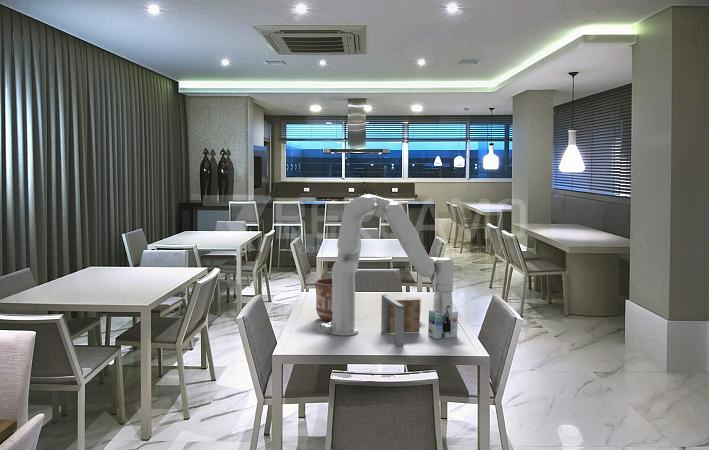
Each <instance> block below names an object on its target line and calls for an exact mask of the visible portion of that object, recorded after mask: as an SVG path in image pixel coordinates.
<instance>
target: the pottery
mask: <svg viewBox="0 0 709 450" xmlns="http://www.w3.org/2000/svg"><path fill="white" fill-rule="evenodd" d="M314 286H315V299H316V301H315V309H316V313H317V315H318V317H319V318H320V319H321V320H322V321H323V322H324V323H331V321H332V304H333V296H332V293H333V292H332V290H333V289H332V277H326V278H320V279H317V280H315V281H314Z"/></svg>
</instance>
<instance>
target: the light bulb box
mask: <svg viewBox="0 0 709 450" xmlns="http://www.w3.org/2000/svg"><path fill="white" fill-rule="evenodd" d="M445 315H448V314H445ZM445 318H447V317H445ZM458 319H459V312H458V311H457V310H454V309H452V318H451V331H450V332H443V323H444V319H443V316H440V313H439V312H437V311H436V310H433V309H430V310H428V326H427V327H428V330H427V332H428V333H427V335H428V336H429V337H431V338H433V339H435V340H438V339H450V338H457V337H458V323H459V322H458V321H459V320H458Z"/></svg>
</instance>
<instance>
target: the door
mask: <svg viewBox="0 0 709 450" xmlns="http://www.w3.org/2000/svg"><path fill="white" fill-rule="evenodd" d="M420 299H421V298H420ZM420 299H414V300H404V299H394V300H395V301H397V302H398V303H400V304H401V305H403V306H404V334H408V333H409V334H411V333H420V328H421V327H420V325H421V324H420V322H421V312H420ZM386 334H395V306H393V305H392V304H390V303H389V302H388V327H387V333H386Z"/></svg>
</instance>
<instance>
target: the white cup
mask: <svg viewBox="0 0 709 450" xmlns="http://www.w3.org/2000/svg"><path fill="white" fill-rule="evenodd" d="M414 299H420V313H421V312H422V298H420V297H415V296H414V297H412V296H410V297H409V296H408V297H404V299H403V300H414Z"/></svg>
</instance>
